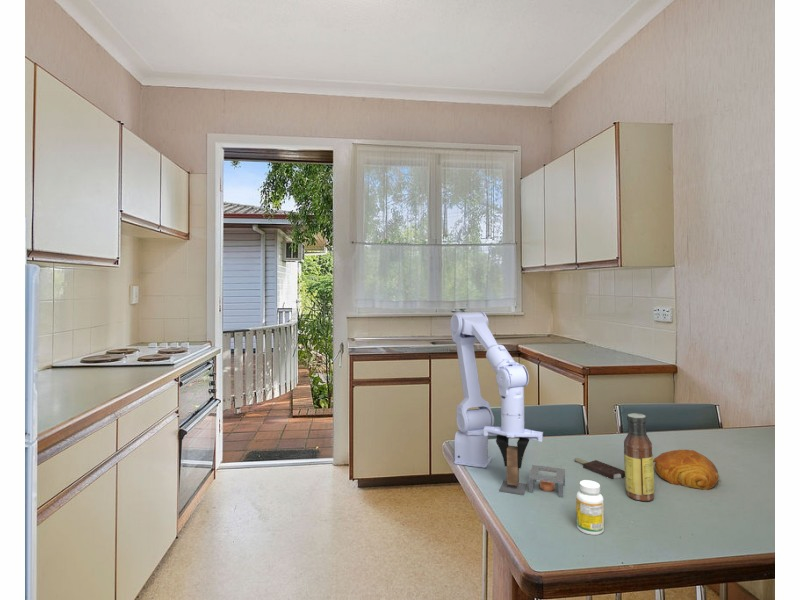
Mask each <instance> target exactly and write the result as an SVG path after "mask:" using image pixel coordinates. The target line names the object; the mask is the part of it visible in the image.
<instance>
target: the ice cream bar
mask: <svg viewBox="0 0 800 600" xmlns="http://www.w3.org/2000/svg"><path fill="white" fill-rule="evenodd" d="M574 461H575V462H577V463H579V464H582V468H583V469H585V470H588V471H590V472H593V473H595V474H597V475H600V476H602V477H605V478H607V477H608V479H609V480H610V479H611V480H612V479H621V478H622V479H625V478H624V477H625V469H624V470H623V469H621V468H618V467H615V466H613V465H611V464H608V463H605V462H603V461H599V460H597V459H595V460H591V461H587V460H584V459H582V458H579V457H575V458H574Z"/></svg>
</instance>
